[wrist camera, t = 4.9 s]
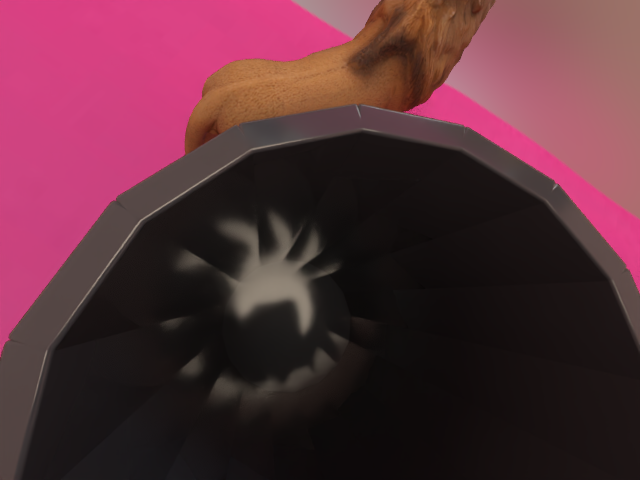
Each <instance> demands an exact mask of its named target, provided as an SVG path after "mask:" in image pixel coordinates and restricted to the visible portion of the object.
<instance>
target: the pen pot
mask: <svg viewBox="0 0 640 480" xmlns="http://www.w3.org/2000/svg"><path fill="white" fill-rule="evenodd" d="M9 339H10V340H8V341H7V342H6V343H5V344H4V347H3V350H2V354H1V357H0V480H640V293H639V291H638V289H637V287H636V284H635V282H634V280H633V277H632V275H631V273H630V271H629V270H628V269H626V264H625V263H624V262H623V261H622V259H621V258H620V257H619V256H618V255H617V253H616V252H615V251H614V250H613V249H612V247H611V246H610V245H609V244H608V243H607V242H606V240H605V239H604V238H603V237H602V236H601V234H600V233H599V232H598V231H597V230H596V228H595V227H594V226H593V225H592V224H591V222H590V221H589V220H588V219H587V218H586V216H585V215H584V214H583V213H582V212H581V210H580V209H579V208H578V207H577V206H576V204H575V203H574V202H573V201H572V200H571V199H570V197H569V196H568V195H567V194H566V193H565V191H564V190H563V189H562V188H561V187H560V185H559V184H555V181H554V180H553V179H551V178H549V177H548V176H546V175H544V174H543V173H541V172H540V171H538V170H536V169H535V168H533V167H532V166H530V165H528V164H527V163H525V162H524V161H522V160H520V159H519V158H517V157H516V156H514V155H512V154H511V153H509V152H508V151H506V150H504V149H503V148H501V147H499V146H498V145H496V144H495V143H493V142H491V141H490V140H488V139H487V138H485V137H483V136H482V135H480V134H479V133H477V132H475V131H474V130H472V129H471V128H469V127H464V125H461V124H456V123H451V122H447V121H442V120H437V119H432V118H427V117H423V116H418V115H413V114H408V113H404V112H399V111H394V110H389V109H384V108H380V107H375V106H370V105H365V104H359V105H357V104H349V105H343V106H337V107H331V108H325V109H319V110H314V111H308V112H302V113H296V114H290V115H284V116H278V117H272V118H266V119H260V120H254V121H248V122H243V123H240V124H239V126H237V125H234V126H232V127H231V128H229V129H227V130H226V131H224V132H222V133H221V134H219V135H217V136H216V137H214V138H213V139H211V140H209V141H208V142H206V143H204V144H203V145H201V146H199V147H198V148H196V149H194V150H193V151H191V152H189V153H188V154H186V155H185V156H183V157H181V158H180V159H178V160H176V161H175V162H173V163H171V164H170V165H168V166H166V167H165V168H163V169H161V170H160V171H158V172H157V173H155V174H153V175H152V176H150V177H148V178H147V179H145V180H143V181H142V182H140V183H138V184H137V185H135V186H133V187H132V188H130V189H129V190H127V191H125V192H124V193H122V194H120V195H119V196H117V198H116V201H112V202H111V203H110V204H109V205H108V206H107V208H106V209H105V210H104V212H103V213H102V214H101V216H100V217H99V218H98V220H97V221H96V222H95V223H94V225H93V226H92V227H91V229H90V230H89V231H88V233H87V234H86V235H85V236H84V238H83V239H82V240H81V242H80V243H79V244H78V246H77V247H76V248H75V250H74V251H73V252H72V253H71V255H70V256H69V257H68V259H67V260H66V261H65V263H64V264H63V265H62V267H61V268H60V269H59V270H58V272H57V273H56V274H55V276H54V277H53V278H52V280H51V281H50V282H49V283H48V285H47V286H46V287H45V289H44V290H43V291H42V293H41V294H40V295H39V297H38V298H37V299H36V300H35V302H34V303H33V304H32V306H31V307H30V308H29V310H28V311H27V312H26V314H25V315H24V316H23V317H22V319H21V320H20V321H19V323H18V324H17V325H16V327H15V328H14V329H13V331H12V332H11V333H10V334H9Z"/></svg>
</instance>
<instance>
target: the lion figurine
mask: <svg viewBox="0 0 640 480" xmlns="http://www.w3.org/2000/svg"><path fill="white" fill-rule="evenodd" d="M495 1H496V0H381V1H380V2H379V4H378V5H377V6H376V7H375V8H374V10H373V11H372V13H371V15H370V17H369V19H368V21H367V22H366V24H365V27H364V28H363V29H362V31H360V32H359V33H358V34H357V35H356V36H355V38H354V39H353V40H352V41H349V42H347V43H345V44H343V45H340V46H336V47H332V48H329V49H326V50H322V51H319V52H315V53H312V54H310V55H308V56H307V57H304V58H302V59H299V60H294V61H288V62H280V61H272V60H265V59H245V60H238V61H234V62H231V63H229V64H227V65H225V66H224V67H222V68H221V69H219V70H218V71H217V72H215V73H214V74H212V75H211V76H210V77H208V78H207V80H206V82H205V84H204V87H203V91H202V99H201V100H200V101H199V102H198V104H197V105H196V107H195V108H194V110H193V112H192V114H191V116H190V118H189V122H188V125H187V129H186V135H185V155H186V154H188V153H189V152H191V151H193V150H194V149H196V148H198V147H199V146H201V145H203V144H204V143H206V142H208V141H209V140H211V139H213V138H214V137H216V136H217V135H219V134H221V133H222V132H224V131H226V130H227V129H229V128H231V127H232V126H234V125H237V126H239V124H240V123H243V122H248V121H254V120H260V119H266V118H272V117H278V116H284V115H290V114H296V113H302V112H308V111H314V110H319V109H325V108H331V107H337V106H343V105H349V104H357V105H359V104H365V105H370V106H375V107H380V108H384V109H389V110H394V111H399V112H403V111H409V110H410V109H412V108H414V107H415V106H418V105H420V104H423V103H425V102H426V101H427V100H428V99H429V98H430V96H431V95H432V93H433V91H434V90H435V89H437V88H439V87H440V86H441V85H442V84H443V83H444V82H445V80H446V79H447V77H448V75H449V74H450V72H451V70H452V69H453V67H454V66H455V65H456V64H457V63H458V61H459V60H460V58H461V56H462V53H463V51H464V49H465V48H466V47H467V46H468V45H469V43H470V42H471V39H472V37H473V36H474V35H475V33H476V32H477V30H478V28H479V26H480V24H481V22H482V21H483V20H484V19H485V17H486V15H487V13H488V11H489V10H490V8H491V7H492V6H493V5H494V3H495Z"/></svg>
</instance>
